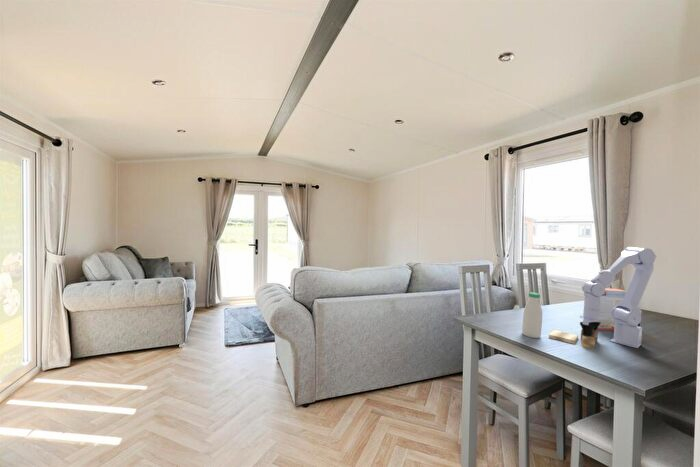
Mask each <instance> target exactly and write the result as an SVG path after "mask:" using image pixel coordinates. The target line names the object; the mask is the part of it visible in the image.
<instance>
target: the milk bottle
mask: <svg viewBox="0 0 700 467" xmlns="http://www.w3.org/2000/svg"><path fill="white" fill-rule="evenodd" d="M540 298H541V294H540V293H538V292H532V291H531V292H529V293H528V299H527V303H526V304H525V306H524V309H523V316H522V329H521V330H522V331H521V332H522V335H523V336H525V337H528V338H532V339H541V336H542V329H543V328H542V324H543V309H542V305H541V304H540V300H541V299H540Z"/></svg>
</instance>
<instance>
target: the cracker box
mask: <svg viewBox="0 0 700 467" xmlns="http://www.w3.org/2000/svg"><path fill="white" fill-rule="evenodd" d="M626 292H627V290H623V289H620V288H607V287H606V289H605V292H604V294H603V295H601V297H600V309H599V321H598V322H601V324H600V325H599V326H598V328H597V330H596V331H599V330H601V331H613V332H614V328H615V321H614V318H613V317H612V314H611V312H612V310H613V308H615V307H616V305H617V303H619V302H621V301H623V299H624V297H625V295H626Z"/></svg>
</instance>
